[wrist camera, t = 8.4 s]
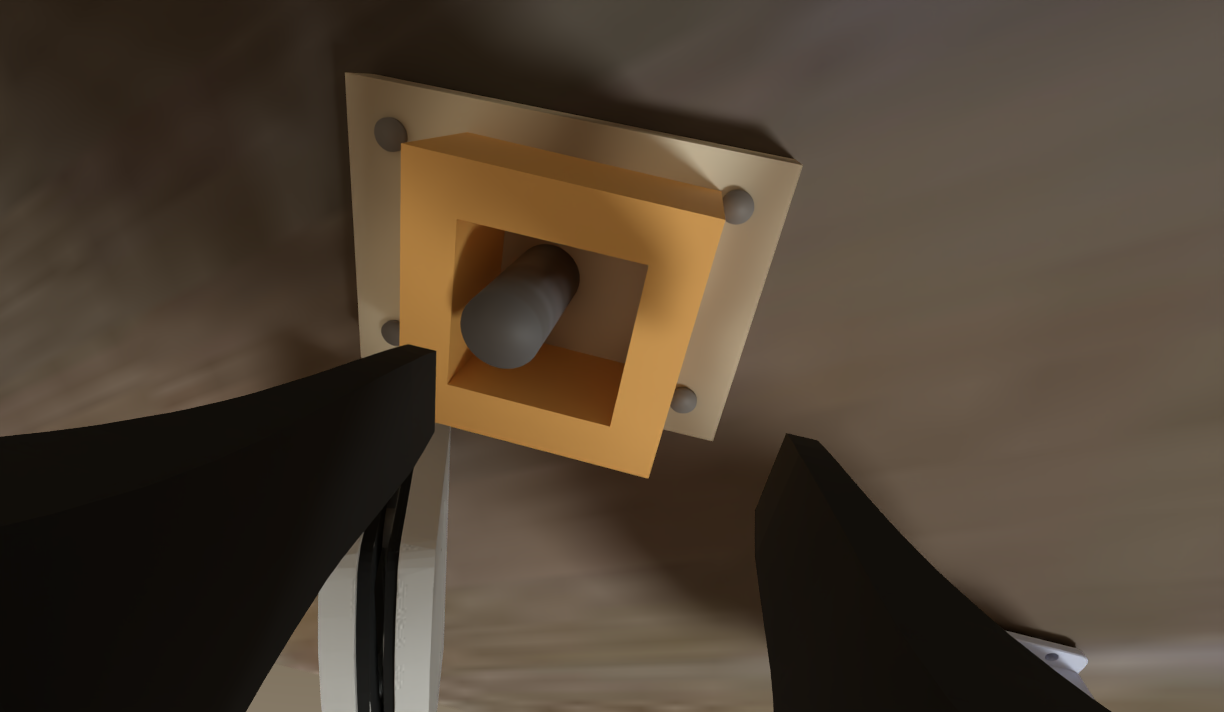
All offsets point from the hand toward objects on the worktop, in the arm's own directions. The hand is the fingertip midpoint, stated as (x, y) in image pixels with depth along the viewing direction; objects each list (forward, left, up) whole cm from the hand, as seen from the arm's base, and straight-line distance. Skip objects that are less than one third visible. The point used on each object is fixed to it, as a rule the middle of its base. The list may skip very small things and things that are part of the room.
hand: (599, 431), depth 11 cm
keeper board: (+3, 0, -10) cm, 10 cm away
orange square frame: (+2, 0, -8) cm, 8 cm away
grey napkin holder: (+8, +16, -10) cm, 21 cm away
